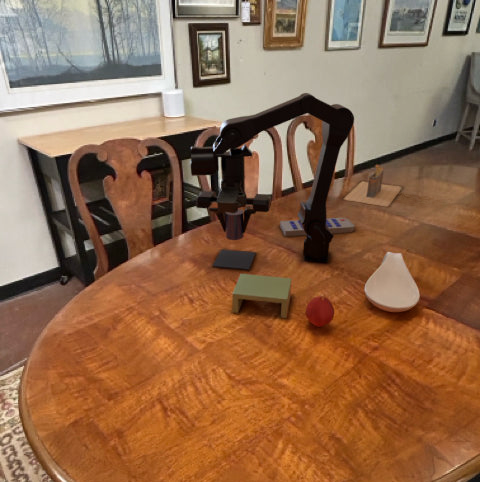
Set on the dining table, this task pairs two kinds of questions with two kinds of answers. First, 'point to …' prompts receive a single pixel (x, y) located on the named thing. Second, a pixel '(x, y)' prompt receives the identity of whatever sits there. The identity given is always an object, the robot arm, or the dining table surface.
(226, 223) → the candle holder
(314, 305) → the onion
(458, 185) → the dining table surface
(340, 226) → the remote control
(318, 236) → the robot arm
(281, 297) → the shelf
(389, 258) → the spoon rest
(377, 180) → the architectural model on board
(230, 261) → the mat
